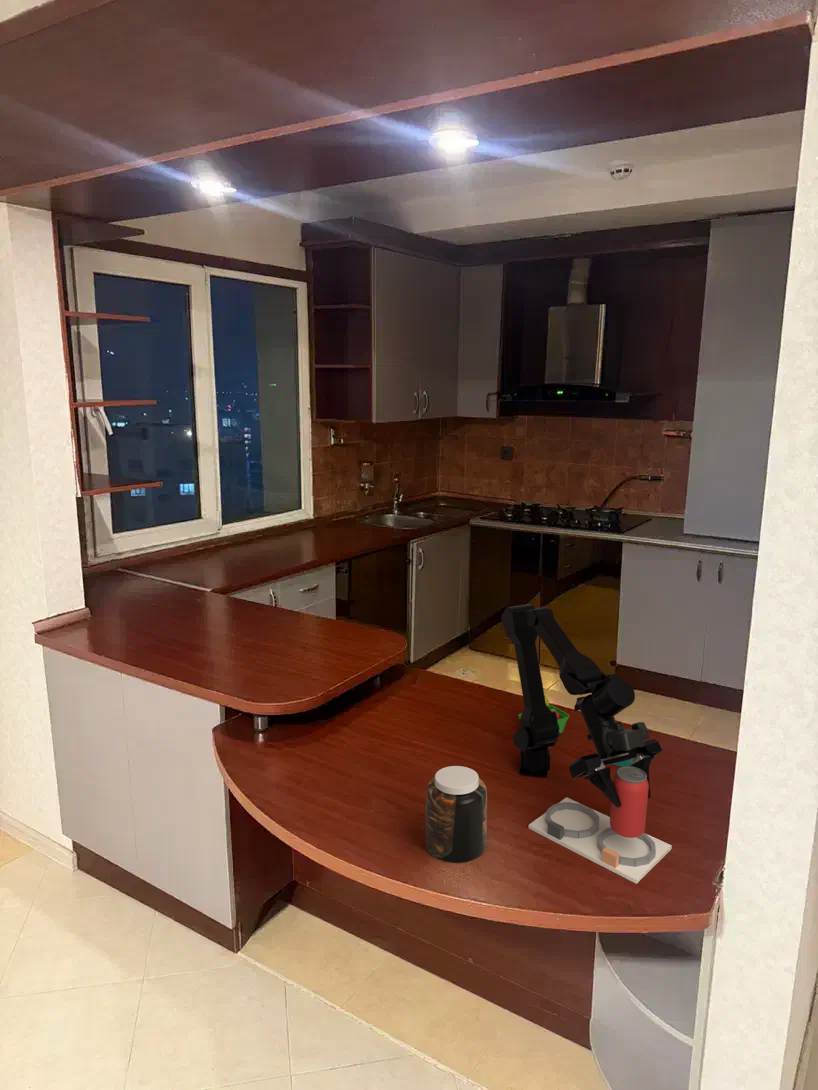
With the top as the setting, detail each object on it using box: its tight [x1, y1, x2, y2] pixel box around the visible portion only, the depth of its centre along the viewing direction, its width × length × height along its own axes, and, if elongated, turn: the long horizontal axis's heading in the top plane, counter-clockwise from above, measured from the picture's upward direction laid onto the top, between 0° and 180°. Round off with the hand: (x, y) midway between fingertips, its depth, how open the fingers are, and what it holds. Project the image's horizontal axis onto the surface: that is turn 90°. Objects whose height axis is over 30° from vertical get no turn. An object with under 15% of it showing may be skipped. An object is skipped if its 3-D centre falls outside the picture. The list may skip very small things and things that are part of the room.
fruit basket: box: [517, 694, 570, 734], centre depth 191 cm, size 11×9×11 cm
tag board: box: [528, 797, 673, 885], centre depth 148 cm, size 24×14×3 cm, turn 45°
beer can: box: [609, 766, 649, 838], centre depth 142 cm, size 7×7×12 cm
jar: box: [425, 765, 488, 864], centre depth 145 cm, size 12×12×15 cm
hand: (634, 802), depth 141 cm, fingers closed on beer can, 7 cm apart
